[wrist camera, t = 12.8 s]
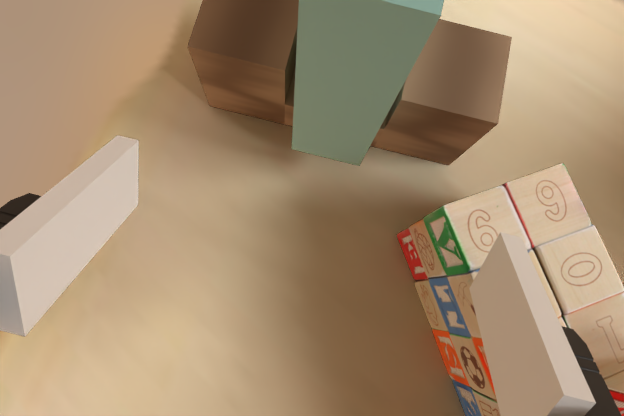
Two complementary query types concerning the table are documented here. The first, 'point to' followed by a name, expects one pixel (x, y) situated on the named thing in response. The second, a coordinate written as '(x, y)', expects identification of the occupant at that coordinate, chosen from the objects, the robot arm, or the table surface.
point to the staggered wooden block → (408, 104)
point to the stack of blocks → (546, 259)
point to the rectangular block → (353, 69)
